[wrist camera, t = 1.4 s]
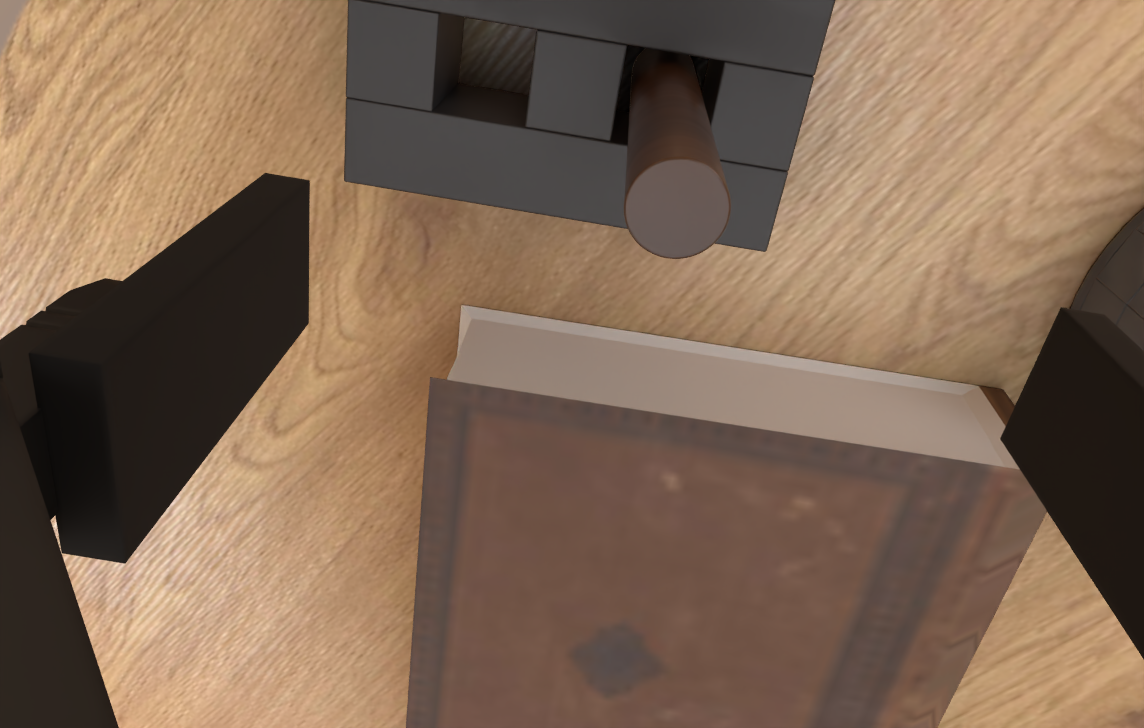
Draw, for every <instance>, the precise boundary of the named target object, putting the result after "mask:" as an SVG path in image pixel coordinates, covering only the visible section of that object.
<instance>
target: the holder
mask: <svg viewBox="0 0 1144 728" xmlns="http://www.w3.org/2000/svg"><path fill="white" fill-rule="evenodd" d="M834 3H835V0H348V29H347V72H346V97H347V98H346V122H345V164H344V181H346V182H351V183H357V184H363V185H369V186H375V187H381V188H387V189H393V190H399V191H405V192H411V193H417V194H423V195H429V196H435V197H441V198H447V199H453V200H459V201H464V202H470V203H476V204H482V205H488V206H494V207H500V208H506V209H512V210H518V211H524V212H530V213H536V214H542V215H548V216H554V217H560V218H566V219H572V220H578V221H584V222H590V223H596V224H602V225H608V226H614V227H620V228H626V229H628V228H627V225H626V222H625V217H624V195H625V178H626V162H627V145H628V129H629V112H625V111H619V110H616V109H617V103H618V97H619V91H620V85H621V79H622V74H623V68H624V62H625V56H626V50H627V45H631V46H637V47H643V48H649V49H655V50H661V51H667V52H673V53H678V54H684V55H690V56H696V57H702V58H708V59H709V62H708V67H707V71H706V76H705V81H704V85H703V90H702V97H703V101H704V104H705V108H706V111H707V115H708V119H709V122H710V126H711V129H712V133H713V137H714V140H715V144H716V147H717V151H718V155H719V158H720V162H721V165H722V169H723V173H724V176H725V180H726V183H727V187H728V191H729V195H730V201H731V212H730V217H729V221H728V224H727V226H726V228H725V230H724V232H723V233H722V235H721V236H720V238H719V239H718V240H717V241H716V242H715V244H721V245H727V246H733V247H739V248H745V249H751V250H757V251H763V252H766V250H767V247H768V244H769V240H770V236H771V233H772V229H773V226H774V222H775V218H776V215H777V211H778V207H779V204H780V200H781V196H782V193H783V189H784V186H785V182H786V178H787V175H788V172H787V171H788V170H789V167H790V164H791V160H792V156H793V153H794V149H795V146H796V142H797V138H798V135H799V131H800V127H801V124H802V120H803V116H804V113H805V109H806V106H807V102H808V98H809V95H810V91H811V87H812V84H813V80H814V77H813V76H814V75H815V72H816V69H817V65H818V62H819V58H820V54H821V51H822V47H823V43H824V40H825V36H826V33H827V29H828V25H829V22H830V18H831V14H832V11H833V7H834ZM464 17H466V18H472V19H478V20H484V21H490V22H496V23H501V24H507V25H513V26H519V27H525V28H531V29H537V32H536V39H535V47H534V55H533V63H532V72H531V80H530V88H529V95H524V94H518V93H512V92H506V91H501V90H495V89H489V88H483V87H477V86H471V85H465V84H459V83H458V82H459V73H460V61H461V49H462V38H463V26H464Z"/></svg>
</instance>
